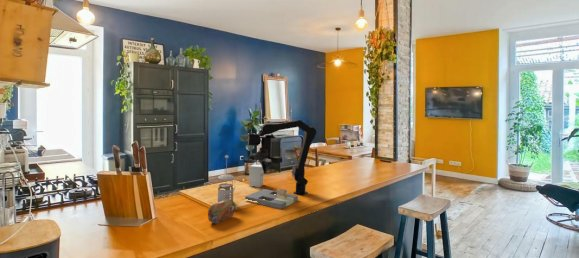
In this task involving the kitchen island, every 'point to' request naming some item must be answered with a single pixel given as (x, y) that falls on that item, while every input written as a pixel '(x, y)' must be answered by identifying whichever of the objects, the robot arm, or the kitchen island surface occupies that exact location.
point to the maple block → (281, 194)
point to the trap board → (271, 199)
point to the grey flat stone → (221, 211)
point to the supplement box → (256, 175)
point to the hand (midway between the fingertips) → (265, 173)
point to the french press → (225, 186)
